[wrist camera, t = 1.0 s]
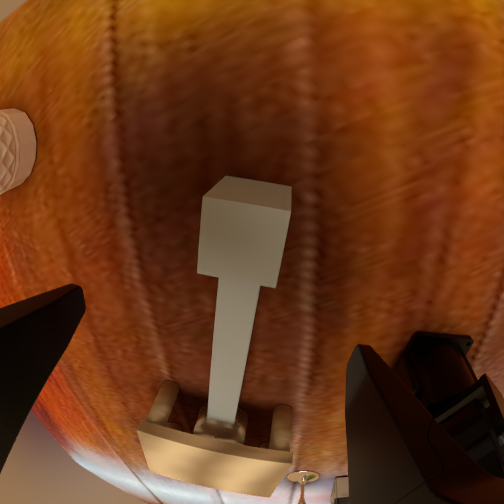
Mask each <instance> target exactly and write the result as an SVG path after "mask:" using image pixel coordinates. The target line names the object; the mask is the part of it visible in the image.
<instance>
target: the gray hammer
mask: <svg viewBox="0 0 504 504" xmlns="http://www.w3.org/2000/svg"><path fill="white" fill-rule="evenodd" d="M291 193H292V187H291V186H285V185H280V184H274V183H268V182H263V181H257V180H250V179H244V178H238V177H231V176H225V177H224V178H222V179H221V180H220V181H219V182H218V183H217V184H216V185H215V186H214V187H213V188H211V189H210V190H209V191H208V192H207V193H206V194H205V195H204V196H203V200H202V211H201V223H200V236H199V250H198V265H197V273H198V274H203V275H208V276H213V277H218V278H219V282H218V292H217V302H216V313H215V324H214V335H213V347H212V360H211V372H210V386H209V400H208V414H207V418H209V419H213V420H218V421H222V422H227V423H232V424H234V421H235V417H236V412H237V407H238V402H239V397H240V392H241V387H242V382H243V377H244V371H245V366H246V361H247V356H248V350H249V345H250V340H251V335H252V329H253V324H254V318H255V313H256V308H257V302H258V297H259V291H260V286H266V287H272V288H276V284H277V279H278V274H279V270H280V265H281V260H282V255H283V250H284V245H285V240H286V235H287V230H288V225H289V220H290V215H291Z"/></svg>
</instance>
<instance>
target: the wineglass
mask: <svg viewBox="0 0 504 504" xmlns="http://www.w3.org/2000/svg"><path fill="white" fill-rule="evenodd" d="M287 478H288V479H289V480H290V481H293V482H299V483H300V484H301V495H300V499H299V501H298V504H306V503H305V499H304V487H305V484H306V482H311V481H315V480H317V479H318V478H319V474H317V473H315V472H311V471H297V472H293V473H290V474H289V475H288V476H287Z"/></svg>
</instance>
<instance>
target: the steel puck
mask: <svg viewBox="0 0 504 504" xmlns="http://www.w3.org/2000/svg"><path fill="white" fill-rule="evenodd" d="M207 414H208V403H205V404H204V405H203V406H202V407H201V409H200V412H199V415H198V418H197V421H196V424H195V428H194V431H193V433H194V435H197V436H201V437H205V438H210V439H214V440H219V441H224V442H229V443H234V444H239V445H243V444H244V440H245V434H246V428H247V423H248V416H247V414H246V412H245V411H244V410H242V409H241V408H239V407H237V412H236V417H235V421H234V424H232V423H227V422H222V421H218V420H213V419H209V418H207Z"/></svg>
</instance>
